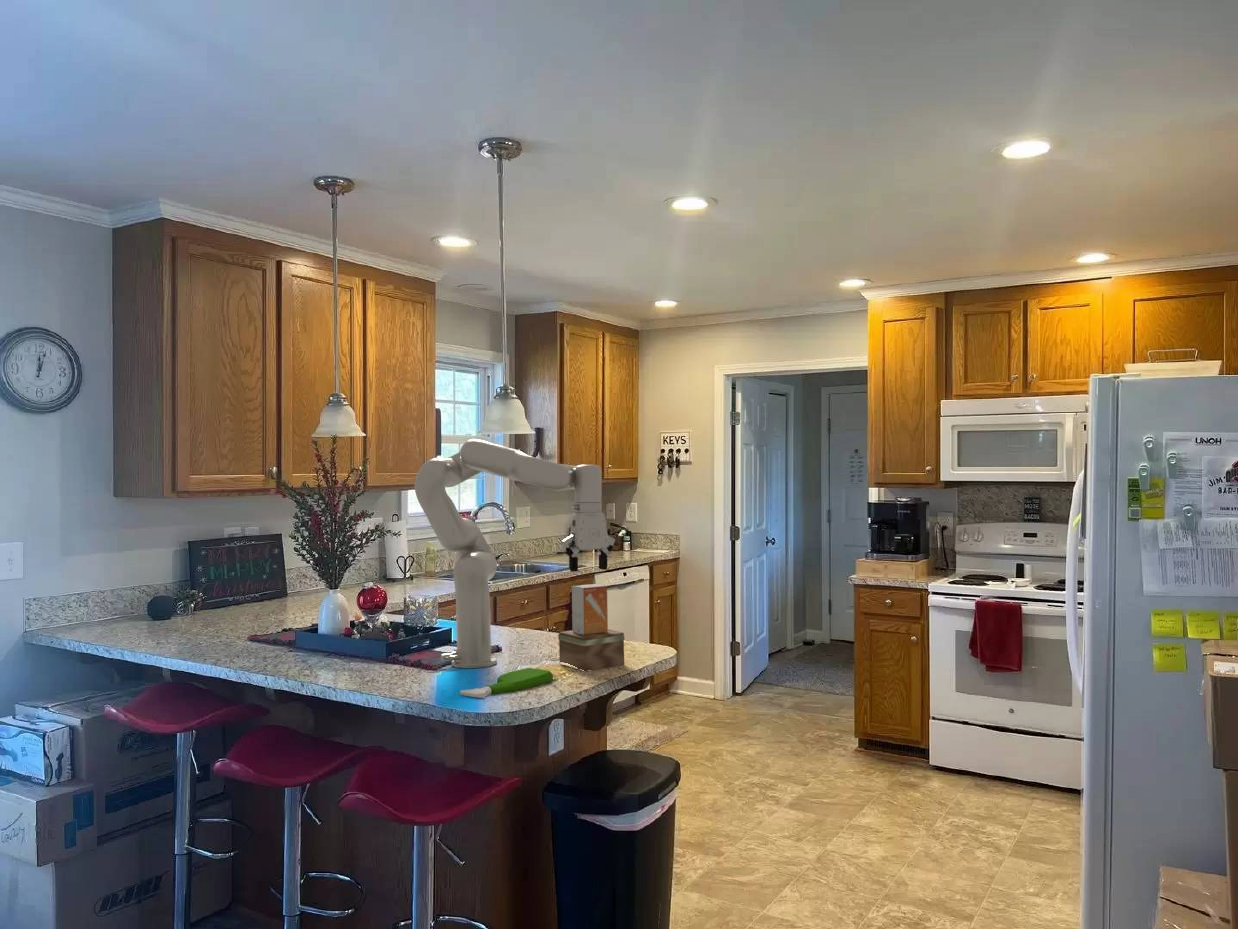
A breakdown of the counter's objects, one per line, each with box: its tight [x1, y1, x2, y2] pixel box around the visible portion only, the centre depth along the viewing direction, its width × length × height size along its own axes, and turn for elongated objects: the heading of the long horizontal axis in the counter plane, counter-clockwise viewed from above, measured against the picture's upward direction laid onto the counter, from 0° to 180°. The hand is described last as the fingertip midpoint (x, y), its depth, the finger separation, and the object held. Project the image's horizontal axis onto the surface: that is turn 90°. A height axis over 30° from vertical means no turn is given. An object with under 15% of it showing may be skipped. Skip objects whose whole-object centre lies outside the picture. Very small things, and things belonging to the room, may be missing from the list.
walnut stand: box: [557, 629, 625, 672], centre depth 252 cm, size 13×13×9 cm
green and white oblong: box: [459, 667, 554, 699], centre depth 225 cm, size 3×11×24 cm
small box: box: [571, 583, 609, 635], centre depth 252 cm, size 8×6×13 cm
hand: (588, 570), depth 252 cm, fingers open, 9 cm apart
